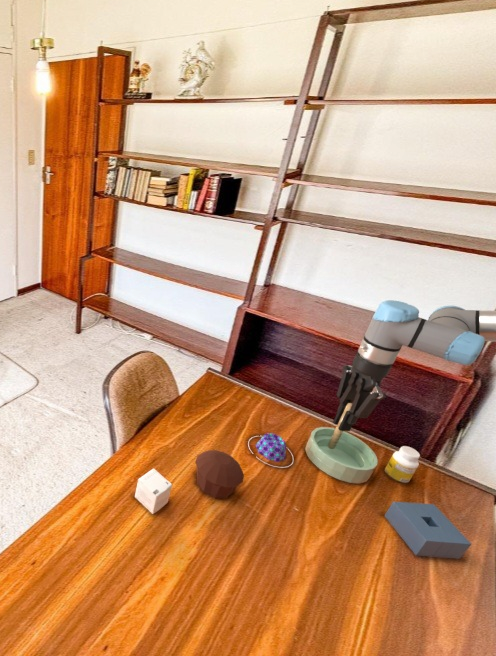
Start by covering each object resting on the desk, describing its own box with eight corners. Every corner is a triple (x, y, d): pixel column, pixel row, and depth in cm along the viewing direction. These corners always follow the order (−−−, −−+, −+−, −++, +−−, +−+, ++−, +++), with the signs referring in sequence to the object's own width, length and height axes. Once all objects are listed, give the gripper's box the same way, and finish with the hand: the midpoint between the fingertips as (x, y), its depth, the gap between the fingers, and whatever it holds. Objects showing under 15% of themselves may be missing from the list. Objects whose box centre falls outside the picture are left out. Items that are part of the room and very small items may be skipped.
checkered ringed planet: (300, 472, 111) (306, 459, 108) (255, 466, 112) (260, 452, 110) (283, 440, 121) (288, 427, 119) (242, 435, 123) (246, 422, 121)
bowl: (345, 443, 121) (352, 428, 119) (382, 487, 107) (392, 471, 105) (294, 440, 122) (300, 425, 119) (324, 483, 108) (332, 467, 105)
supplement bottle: (385, 465, 114) (400, 440, 110) (409, 478, 110) (425, 452, 106) (381, 475, 111) (395, 450, 106) (405, 488, 107) (421, 463, 103)
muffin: (190, 496, 102) (198, 468, 98) (190, 463, 112) (197, 437, 108) (239, 510, 99) (250, 483, 95) (235, 476, 109) (244, 449, 104)
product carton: (149, 487, 104) (153, 467, 101) (167, 504, 100) (173, 484, 97) (133, 498, 101) (137, 478, 98) (152, 516, 97) (157, 496, 94)
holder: (422, 520, 99) (434, 504, 96) (458, 560, 90) (471, 544, 87) (382, 517, 99) (393, 501, 96) (414, 557, 90) (426, 541, 88)
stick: (331, 446, 116) (353, 401, 109) (335, 451, 115) (357, 406, 108) (325, 445, 116) (346, 401, 109) (329, 450, 115) (350, 405, 108)
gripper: (341, 341, 109) (312, 408, 119) (380, 374, 95) (344, 445, 105) (369, 343, 108) (338, 409, 119) (412, 376, 95) (373, 447, 105)
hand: (341, 426), depth 112 cm, fingers closed on stick, 2 cm apart
